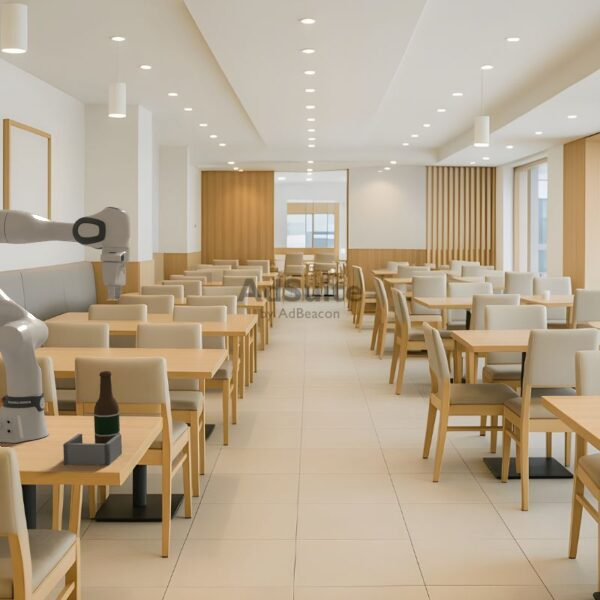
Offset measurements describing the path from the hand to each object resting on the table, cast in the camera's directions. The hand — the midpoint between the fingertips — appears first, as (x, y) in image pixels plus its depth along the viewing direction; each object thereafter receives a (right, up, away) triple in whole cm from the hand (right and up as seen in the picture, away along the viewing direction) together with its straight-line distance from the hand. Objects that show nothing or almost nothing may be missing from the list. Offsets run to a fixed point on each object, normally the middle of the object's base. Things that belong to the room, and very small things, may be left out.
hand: (114, 299), depth 259 cm
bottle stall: (-1, -47, -22) cm, 52 cm away
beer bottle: (0, -47, -9) cm, 47 cm away
